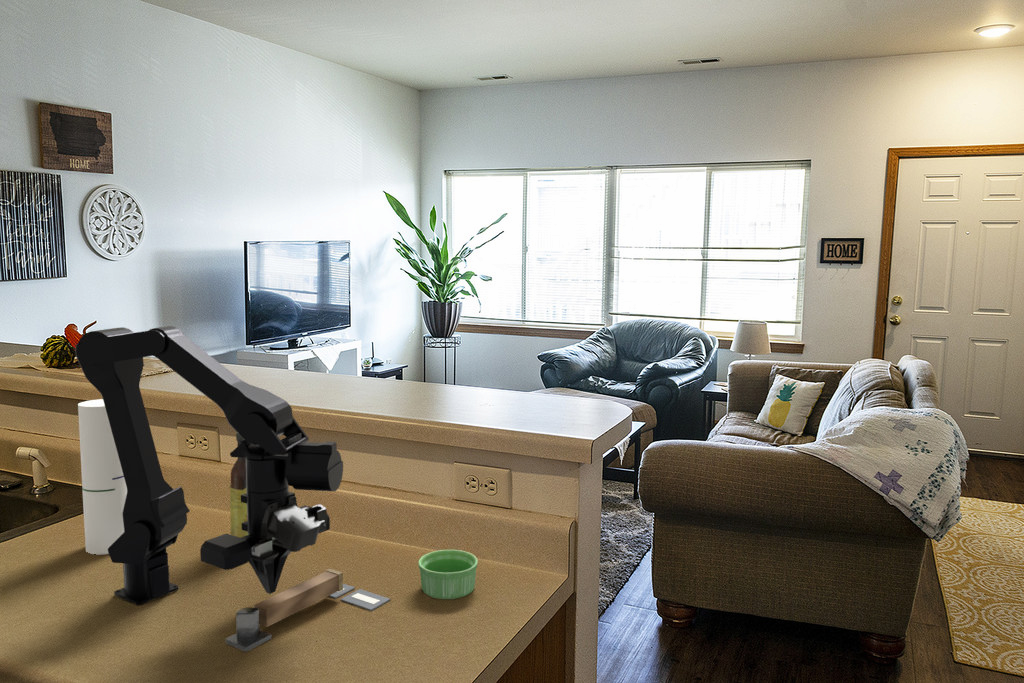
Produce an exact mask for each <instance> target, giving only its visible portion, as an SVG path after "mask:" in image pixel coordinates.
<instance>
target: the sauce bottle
mask: <svg viewBox="0 0 1024 683" xmlns="http://www.w3.org/2000/svg"><path fill="white" fill-rule="evenodd" d="M235 437H236V439H235V440H236V442H237V447H238V445H239V444H240V442H241V441H242V440H244V439H243V438H242V437H241V436H240V435H239V434H238V433H237V432H236V435H235ZM230 470H231V471H230V485H229V489H230V490H229V496H230V498H229V499H230V500H229V504H230V505H229V507H230V510H229V512H230V515H229V516H230V517H229V518H230V535H233V536H236V537H239V538H241V537H244V536H247V535H248V532H247V531H244V530H242V523H243V522H246V521H247V503H243V502H241V495H242V494H246V493H247V491H246V489H247V488H246V458H239V457H237V459H236V461H235V463H234V464H233V466H232V468H231V469H230Z"/></svg>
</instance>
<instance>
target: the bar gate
mask: <svg viewBox="0 0 1024 683" xmlns="http://www.w3.org/2000/svg"><path fill="white" fill-rule="evenodd" d="M343 574H344V573H343V572H342V571H339V570H336V569H334V568H333V569H332V568H328V569H326V570H325V571H324V572H321V573H319V574H317V575H315V576H313V577H311V578H309V579H306V580H305V581H302V582H301V583H299V584H296V585H293V586H292V587H290V588H288V589H285V590H283V591H281V592H278V593H277V594H274V595H272V596H270V597H268V598H266V599H264V600H261V601H259V602H258V603H255V604H254V605H253V607H254V608H257V609H259V625H260V626H264V627H266V628H268V627H270V626H272V625H274V624H276V623H278V622H280V621H282V620H284V619H286V618H287V617H289V616H292V615H294V614H295V613H297V612H300V611H301V610H303V609H306V608H307V607H309V606H311V605H313V604H315V603H317V602H319V601H321V600H323V599H325V598H327V597H330V596H329V595H331V594H333V593H335V592H337V591H341V590H343V584H344V576H343Z"/></svg>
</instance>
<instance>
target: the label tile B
mask: <svg viewBox="0 0 1024 683" xmlns="http://www.w3.org/2000/svg"><path fill="white" fill-rule="evenodd" d="M340 601H342V602H344V603H347V604H350V605H354V606H356V607H359V608H361V609H364V610H365V609H366V610H368V611H371V612H372V611H374V610H376V609H378V608H379V607H381V606H382V605H384V604H386V603H388V602H390V601H391V598H388V597H386V596H383V595H379V594H376V593H374V592H370V591H368V590H364V589H362V588H359V589H357V590H355V591H353V592H351V593H350V594H349V593H348V594H347V595H345V596H343V597H340Z"/></svg>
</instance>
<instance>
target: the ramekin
mask: <svg viewBox="0 0 1024 683" xmlns="http://www.w3.org/2000/svg"><path fill="white" fill-rule="evenodd" d="M478 562H479V561H478V558H477V556H475V555H474V554H473V553H471V552H468V551H464V550H459V549H440V550H434V551H431V552H429V553H425V554H424V555H422V556H421V557H420V558H419V560H418V562H417V565H418V568H419V572H420V582H421V583H420V584H421V589H422V592H423V593H424V594H426V595H427V596H429V597H431V598H433V599H438V600H455V599H460V598H463V597H465V596H468V595H469V594H471V593H472V592H473V591H474V590H475V587H476V576H477V568H478V564H479V563H478Z"/></svg>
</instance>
